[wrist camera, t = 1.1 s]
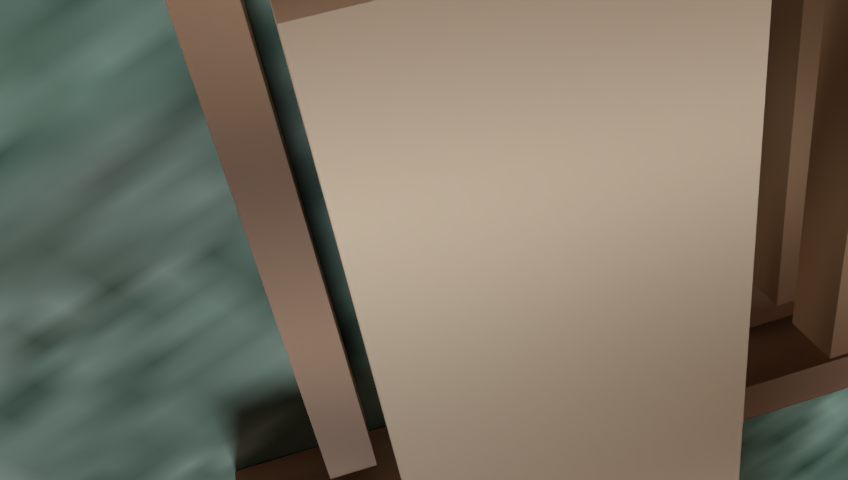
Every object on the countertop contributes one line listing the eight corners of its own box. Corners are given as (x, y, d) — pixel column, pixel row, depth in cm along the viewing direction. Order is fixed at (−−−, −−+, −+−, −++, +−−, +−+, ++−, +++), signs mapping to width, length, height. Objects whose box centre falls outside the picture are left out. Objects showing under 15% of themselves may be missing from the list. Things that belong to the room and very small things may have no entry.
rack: (909, 299, 20) (973, 348, 19) (248, 500, 18) (252, 574, 17) (1087, -568, 12) (1234, -622, 10) (-126, -350, 10) (-193, -372, 8)
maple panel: (500, 320, 18) (721, 738, 10) (368, 358, 17) (494, 819, 10) (424, -188, 12) (780, -98, 5) (229, -146, 12) (277, 23, 4)
